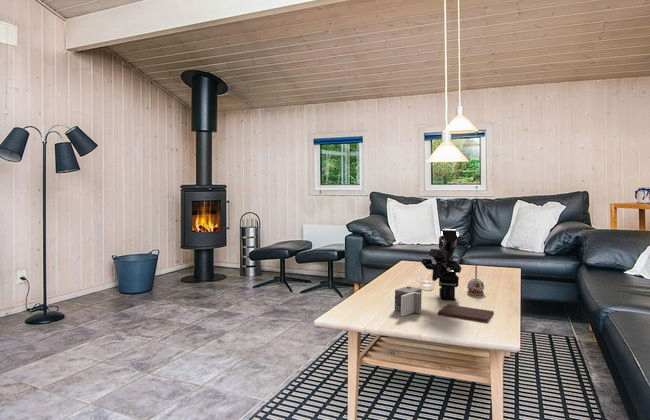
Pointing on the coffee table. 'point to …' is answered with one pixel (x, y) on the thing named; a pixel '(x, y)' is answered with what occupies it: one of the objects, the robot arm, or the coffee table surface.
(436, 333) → the coffee table surface
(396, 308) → the block
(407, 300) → the door
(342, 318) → the coffee table surface
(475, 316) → the notebook
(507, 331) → the coffee table surface
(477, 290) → the decorative ornament
